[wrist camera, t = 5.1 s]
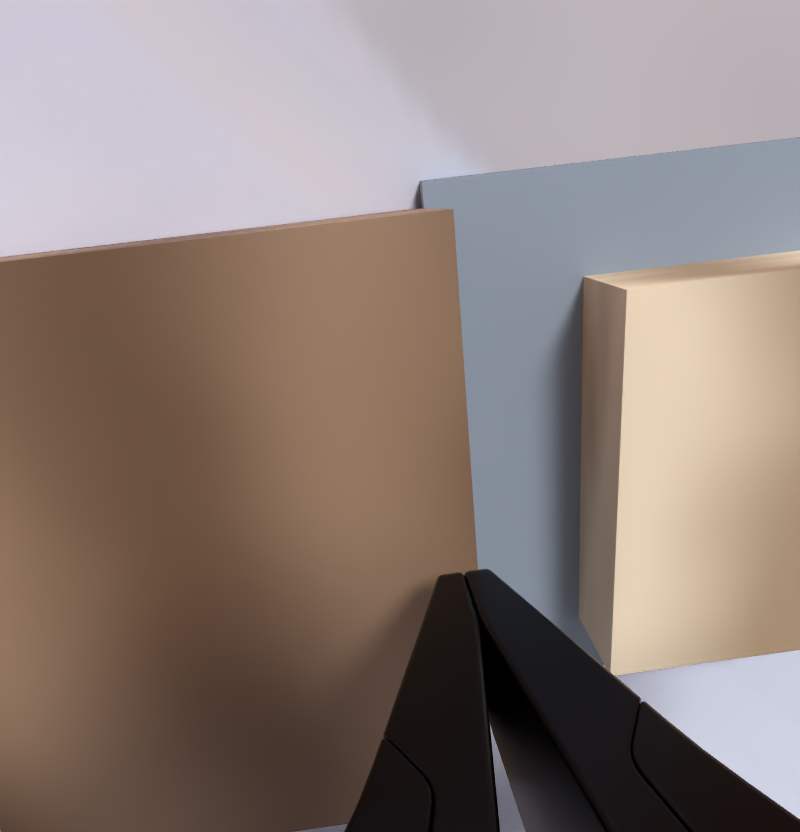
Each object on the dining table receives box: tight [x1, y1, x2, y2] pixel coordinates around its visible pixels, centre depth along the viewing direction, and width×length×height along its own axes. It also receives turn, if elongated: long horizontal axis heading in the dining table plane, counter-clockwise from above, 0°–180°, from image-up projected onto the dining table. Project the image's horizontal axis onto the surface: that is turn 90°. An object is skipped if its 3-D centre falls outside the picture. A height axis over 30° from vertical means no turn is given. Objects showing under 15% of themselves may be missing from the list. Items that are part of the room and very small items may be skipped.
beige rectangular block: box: [579, 251, 800, 676], centre depth 12 cm, size 6×9×2 cm, turn 6°
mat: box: [420, 137, 800, 665], centre depth 13 cm, size 10×13×1 cm
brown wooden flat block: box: [0, 208, 478, 832], centre depth 11 cm, size 10×12×4 cm
